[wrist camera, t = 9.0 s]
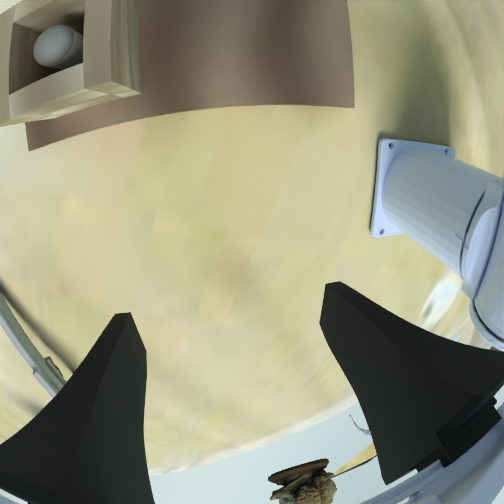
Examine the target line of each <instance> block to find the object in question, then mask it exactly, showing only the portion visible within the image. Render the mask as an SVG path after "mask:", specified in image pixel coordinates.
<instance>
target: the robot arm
mask: <svg viewBox="0 0 504 504" xmlns="http://www.w3.org/2000/svg"><path fill="white" fill-rule="evenodd" d="M390 143H391V146H390V148H389V144H390ZM454 157H455V150H454V148H452V147H448V146H442V145H436V144H429V143H422V142H415V141H406V140H397V139H386V138H383V139H381V140H380V141H379V144H378V162H377V176H376V187H375V197H374V206H373V214H372V222H371V229H370V234H371V236H373V237H374V238H378V237H384V236H391V235H397V234H403V233H404V234H406V235H407V236H408V237H410V238H411V239H413V240H414V241H415V242H417V243H418V244H419V245H421V246H422V247H423V248H425V249H426V250H427V251H429V252H430V253H431V254H433V255H434V256H435V257H437V258H438V259H439V260H440V261H442V262H443V263H444V264H445V265H447V266H448V267H449V268H450V269H452V270H453V271H454V272H455V273H457V274H458V275H459V276H460V277H461V278H463V285H462V288H461V290H462V291H463V292H464V293H465V294H466V295H467V296H468V297H469V298H471V300H470V304H469V311H470V316H471V319H472V322H473V324H474V326H475V328H476V329H477V330H478V332H479V333H480V334H481V336H482V337H483V338H484V339H485V340H486V341H487V342H488V343H489V344H491V345H492V346H494V347H495V348H497V349H499V350H501V351H496V350H489V349H483V348H478V347H474V346H470V345H465V344H462V343H459V342H455V341H452V340H449V339H447V338H444V337H441V336H438V335H436V334H433V333H431V332H429V331H426V330H424V329H422V328H420V327H418V326H416V325H414V324H411V323H410V322H408V321H406V320H404V319H402V318H400V317H398V316H397V315H395V314H393V313H391V312H390V311H388V310H386V309H385V308H383V307H381V306H380V305H378V304H376V303H375V302H373V301H372V300H370V299H368V298H367V297H365V296H364V295H362V294H360V293H359V292H357V291H356V290H354V289H352V288H351V287H349V286H347V285H346V284H344V283H342V282H340V281H338V282H333V283H328V284H326V285H325V292H324V298H323V305H322V311H321V317H320V323H319V324H320V326H321V329H322V331H323V334H324V336H325V339H326V341H327V344H328V346H329V347H330V349H331V351H332V353H333V355H334V356H335V358H336V360H337V362H338V363H339V365H340V367H341V369H342V370H343V372H344V374H345V376H346V377H347V379H348V381H349V383H350V384H351V386H352V388H353V390H354V392H355V394H356V396H357V398H358V401H359V403H360V406H361V408H362V410H363V413H364V416H365V418H366V421H367V424H368V427H369V430H370V433H371V436H372V439H373V442H374V446H375V449H376V453H377V457H378V461H379V465H380V469H381V475H382V478H383V480H384V482H385V484H386V485H388V484H390V483H392V482H394V481H396V480H397V479H399V478H401V477H403V476H404V475H406V474H408V473H410V472H411V471H413V470H415V469H417V471H418V473H417V474H416V475H414V476H412V477H411V478H409V479H407V480H406V481H404V482H402V483H400V484H398V485H397V486H395V487H393V488H391V489H389V490H387V491H385V492H383V493H381V494H379V495H377V496H375V497H373V498H371V499H369V500H367V501H364V502H362V503H360V504H397V503H399V502H401V501H402V500H404V499H405V498H407V497H409V496H410V497H409V500H408V502H406V503H404V504H491V503H492V501H493V500H494V499H495V498H496V496H497V495H498V493H499V492H500V490H501V489H502V488H503V486H504V403H503V404H502V405H501V406H500V407H499V408H498V409H497V410H496V409H495V407H494V405H495V404H496V403H497V400H496V399H495V398H494V395H495V394H496V393H497V391H499V389H500V388H501V387H502V386H503V385H504V352H503V351H504V172H503V178H501V177H498V176H496V175H494V174H492V173H489V172H487V171H485V170H482V169H480V168H477V167H475V166H472V165H470V164H467V163H465V162H462V161H459V160H457V159H454ZM381 229H382V230H381ZM380 230H381V232H380ZM146 380H147V360H146V349H145V347H144V344H143V342H142V340H141V337H140V335H139V332H138V330H137V327H136V325H135V322H134V320H133V317H132V315H131V312H129V313H119V314H115V315H114V316H113V318H112V319H111V321H110V322H109V324H108V325H107V326H106V328H105V329H104V331H103V332H102V334H101V335H100V337H99V338H98V340H97V341H96V343H95V344H94V346H93V347H92V349H91V350H90V351H89V353H88V354H87V356H86V357H85V359H84V360H83V361H82V363H81V364H80V365H79V367H78V368H77V369H76V371H75V372H74V374H73V375H72V376H71V378H70V379H69V380H68V381H67V383H66V384H65V385H64V386H63V388H62V389H61V390H60V391H59V392H58V393H57V395H56V396H55V397H54V398H53V399H52V400H51V401H50V402H49V403H48V404H47V405H46V406H45V407H44V408H43V409H42V410H41V411H40V412H39V413H38V414H37V415H36V416H35V417H34V418H33V419H32V420H31V421H30V422H29V423H28V424H27V425H25V426H24V427H23V428H22V429H21V430H19V431H18V432H17V433H16V434H14V435H13V436H12V437H10V438H9V439H8V440H6V441H5V442H3V443H2V444H0V489H2V490H4V491H6V492H8V493H10V494H12V495H14V496H16V497H18V498H20V499H22V500H24V501H26V502H28V504H155V502H154V499H153V495H152V490H151V485H150V481H149V475H148V469H147V462H146V455H145V445H144V407H145V393H146ZM0 504H18V503H16V502H14V501H12V500H10V499H8V498H6V497H4V496H2V495H0Z"/></svg>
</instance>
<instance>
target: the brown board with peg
mask: <svg viewBox="0 0 504 504" xmlns="http://www.w3.org/2000/svg"><path fill="white" fill-rule="evenodd" d="M135 1H136V3H137V5H138V7H139V9H140V24H139V36H140V70H141V87H142V94H138V95H133V96H129V97H125V98H120V99H116V100H112V101H108V102H105V103H101V104H97V105H94V106H90V107H87V108H84V109H81V110H78V111H74V112H71V113H69V114H66V115H63V116H60V117H57V118H53V119H45V120H37V121H31V122H25V125H26V134H27V141H28V148H29V151H32V150H35V149H38V148H41V147H43V146H46V145H49V144H51V143H54V142H57V141H60V140H63V139H66V138H69V137H72V136H75V135H79V134H82V133H85V132H89V131H92V130H96V129H100V128H103V127H107V126H111V125H115V124H119V123H124V122H128V121H133V120H138V119H143V118H148V117H153V116H159V115H165V114H171V113H177V112H185V111H192V110H201V109H210V108H221V107H234V106H253V105H312V106H330V107H344V108H354V75H353V57H352V44H351V33H350V23H349V15H348V7H347V0H135ZM33 53H34V57H35V59H36V61H37V62H38V63H39V64H41V65H44V66H48V67H52V68H56V69H60V70H65V69H67V68H70V67H73V66H75V65H78V64H81V63H83V35H81V34H80V33H78V32H76V31H75V30H73V29H72V28H70V27H69V26H66V25H55V26H52V27H50V28H48V29H46V30H45V31H44V32H43V33H42V34H41V35H40V36H39V37H38V39H37V40H36V42H35V45H34V51H33Z"/></svg>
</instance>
